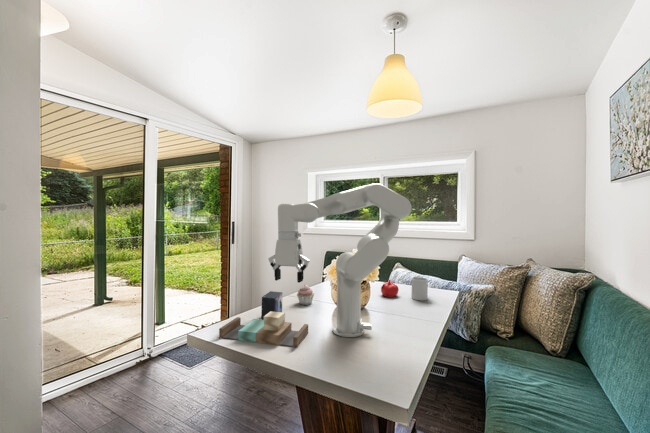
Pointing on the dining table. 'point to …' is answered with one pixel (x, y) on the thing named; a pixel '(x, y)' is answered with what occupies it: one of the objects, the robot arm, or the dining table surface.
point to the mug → (419, 288)
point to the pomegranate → (389, 289)
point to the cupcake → (305, 295)
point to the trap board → (262, 333)
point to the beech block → (274, 321)
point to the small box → (271, 303)
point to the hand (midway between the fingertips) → (288, 280)
